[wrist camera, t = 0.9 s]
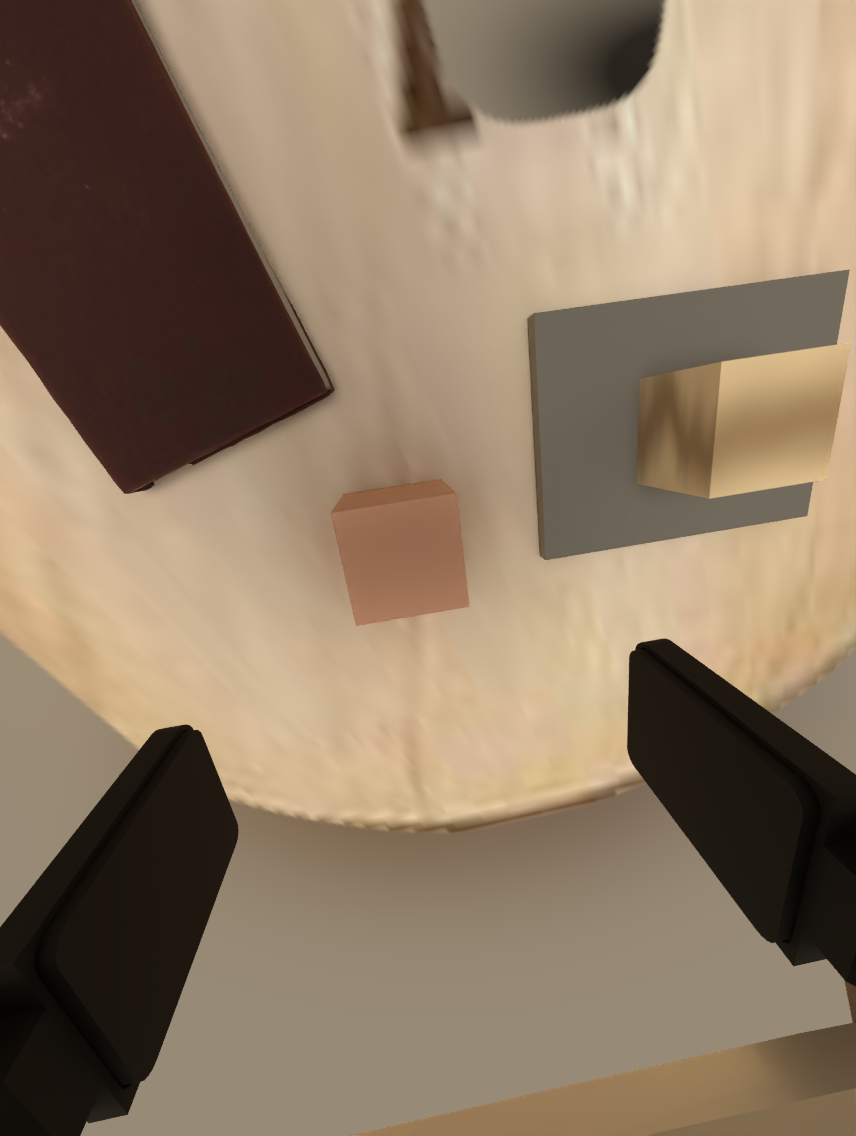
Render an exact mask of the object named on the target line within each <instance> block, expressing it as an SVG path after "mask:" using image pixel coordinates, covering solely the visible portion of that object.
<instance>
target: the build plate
mask: <svg viewBox="0 0 856 1136" xmlns="http://www.w3.org/2000/svg"><path fill="white" fill-rule="evenodd" d="M848 276H849V270H843V271H836V272H829V273H822V274H815V275H807V276H800V277H793V278H786V279H779V280H771V281H764V282H757V283H750V284H743V285H735V286H728V287H721V288H714V289H707V290H699V291H692V292H685V293H678V294H671V295H663V296H656V297H649V298H642V299H635V300H627V301H620V302H613V303H606V304H598V305H591V306H584V307H577V308H570V309H562V310H555V311H548V312H541V313H534V314H533V315H531V316H530V317H529V318H528V332H529V351H530V370H531V389H532V409H533V428H534V447H535V466H536V485H537V505H538V524H539V543H540V556H541V557H543V558H544V559H545V560H549V559H555V558H561V557H567V556H572V555H578V554H584V553H590V552H596V551H602V550H608V549H614V548H620V547H626V546H632V545H638V544H644V543H650V542H655V541H661V540H667V539H673V538H679V537H685V536H691V535H697V534H703V533H709V532H715V531H721V530H727V529H733V528H739V527H744V526H750V525H756V524H762V523H768V522H774V521H780V520H786V519H792V518H798V517H804V516H807V514H808V508H809V502H810V496H811V490H812V485H813V482H808V483H802V484H796V485H790V486H784V487H778V488H772V489H766V490H760V491H753V492H747V493H741V494H735V495H729V496H723V497H717V498H711V499H708V498H703V497H698V496H693V495H689V494H684V493H679V492H674V491H669V490H664V489H659V488H655V487H650V486H645V485H640V484H637V449H638V415H639V381H640V379H642V378H646V377H651V376H656V375H661V374H665V373H670V372H675V371H680V370H684V369H689V368H694V367H699V366H703V365H708V364H713V363H718V362H723V361H729V360H736V359H743V358H750V357H756V356H763V355H770V354H777V353H783V352H790V351H797V350H804V349H811V348H817V347H824V346H831V345H837V340H838V334H839V328H840V322H841V316H842V311H843V305H844V299H845V293H846V287H847V282H848Z"/></svg>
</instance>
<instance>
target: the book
mask: <svg viewBox="0 0 856 1136" xmlns="http://www.w3.org/2000/svg"><path fill="white" fill-rule="evenodd" d="M0 325H1V327H2V328H3V329H4V331H5V332H6V333H7V335H8V336H9V338H10V339H11V340H12V342H13V343H14V344H15V345H16V347H17V348H18V349H19V351H20V352H21V353H22V354H23V356H24V357H25V358H26V360H27V361H28V362H29V364H30V365H31V367H32V368H33V369H34V371H35V372H36V374H37V375H38V377H39V378H40V379H41V381H42V383H43V384H44V386H45V387H46V389H47V390H48V392H49V393H50V395H51V396H52V398H53V399H54V401H55V402H56V403H57V404H58V406H59V407H60V408H61V410H62V411H63V412H64V413H65V415H66V416H67V417H68V419H69V420H70V421H71V423H72V424H73V426H74V427H75V429H76V430H77V431H78V433H79V434H80V436H81V437H82V439H83V440H84V441H85V443H86V444H87V445H88V447H89V448H90V449H91V451H92V452H93V453H94V455H95V456H96V457H97V459H98V460H99V461H100V462H101V464H102V465H103V466H104V468H105V469H106V471H107V472H108V474H109V475H110V476H111V478H112V479H113V481H114V482H115V483H116V484H117V486H118V487H119V488H120V489H121V490H122V491H123V493H124V494H130V493H134V492H139V491H145V490H148V489H150V488H152V486H153V485H155V484H154V483H153V481H155V480H157V479H159V478H161V477H162V476H164V475H166V474H168V473H170V472H172V471H174V470H176V469H178V468H180V467H182V466H184V465H186V464H192V465H195V464H196V463H198V462H200V461H202V460H204V459H206V458H208V457H210V456H212V455H214V454H215V453H217V452H219V451H221V450H223V449H225V448H228V447H230V446H233V445H235V444H237V443H238V442H240V441H242V440H243V439H245V438H248V437H250V436H252V435H254V434H257V433H259V432H260V431H262V430H264V429H265V428H267V427H269V426H270V425H272V424H274V423H276V422H279V421H281V420H283V419H285V418H288V417H290V416H292V415H294V414H296V413H298V412H299V411H301V410H303V409H305V408H307V407H309V406H311V405H312V404H314V403H316V402H318V401H320V400H322V399H324V398H325V397H327V396H328V395H330V394H331V393H332V392H333V391H334V388H333V386H332V383H331V381H330V379H329V377H328V374H327V372H326V370H325V368H324V366H323V364H322V362H321V360H320V358H319V357H318V355H317V353H316V351H315V349H314V347H313V345H312V344H311V342H310V340H309V338H308V336H307V334H306V332H305V330H304V328H303V326H302V324H301V322H300V320H299V318H298V316H297V314H296V312H295V310H294V308H293V306H292V304H291V303H290V301H289V299H288V298H287V296H286V294H285V292H284V290H283V288H282V286H281V284H280V282H279V280H278V278H277V277H276V275H275V273H274V271H273V269H272V267H271V266H270V264H269V262H268V260H267V258H266V256H265V254H264V252H263V251H262V249H261V247H260V245H259V243H258V241H257V239H256V237H255V235H254V233H253V231H252V229H251V227H250V225H249V223H248V222H247V220H246V218H245V216H244V214H243V212H242V210H241V208H240V206H239V204H238V202H237V200H236V198H235V197H234V195H233V193H232V191H231V189H230V187H229V185H228V183H227V181H226V179H225V177H224V175H223V173H222V171H221V169H220V167H219V165H218V163H217V161H216V159H215V158H214V156H213V154H212V152H211V150H210V148H209V146H208V145H207V143H206V141H205V139H204V137H203V135H202V133H201V131H200V129H199V127H198V125H197V123H196V121H195V119H194V117H193V115H192V113H191V111H190V109H189V107H188V105H187V103H186V101H185V99H184V97H183V95H182V93H181V91H180V89H179V87H178V85H177V83H176V81H175V79H174V78H173V76H172V74H171V72H170V70H169V68H168V66H167V64H166V62H165V60H164V58H163V56H162V54H161V52H160V50H159V48H158V46H157V44H156V42H155V40H154V38H153V36H152V34H151V32H150V30H149V28H148V26H147V24H146V22H145V20H144V18H143V16H142V14H141V12H140V9H139V7H138V5H137V3H136V1H135V0H0Z"/></svg>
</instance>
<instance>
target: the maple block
mask: <svg viewBox="0 0 856 1136" xmlns="http://www.w3.org/2000/svg"><path fill="white" fill-rule="evenodd" d="M850 346H851V343H844V344H838V345H831V346H824V347H817V348H811V349H804V350H797V351H790V352H783V353H777V354H770V355H763V356H756V357H750V358H743V359H736V360H729V361H723V362H718V363H713V364H708V365H703V366H699V367H694V368H689V369H684V370H680V371H675V372H670V373H665V374H661V375H656V376H651V377H646V378H642V379H640V381H639V415H638V449H637V484H640V485H645V486H650V487H655V488H659V489H664V490H669V491H674V492H679V493H684V494H689V495H693V496H698V497H703V498H708V499H711V498H717V497H723V496H729V495H735V494H741V493H747V492H753V491H760V490H766V489H772V488H778V487H784V486H790V485H796V484H802V483H808V482H814V481H820V480H826V478H827V472H828V467H829V461H830V456H831V450H832V445H833V439H834V434H835V428H836V423H837V417H838V412H839V406H840V401H841V395H842V390H843V384H844V379H845V373H846V368H847V363H848V357H849V352H850Z"/></svg>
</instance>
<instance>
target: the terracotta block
mask: <svg viewBox="0 0 856 1136" xmlns="http://www.w3.org/2000/svg"><path fill="white" fill-rule="evenodd" d="M331 515H332V520H333V524H334V529H335V533H336V538H337V542H338V547H339V551H340V556H341V560H342V564H343V569H344V573H345V578H346V582H347V587H348V591H349V596H350V600H351V605H352V609H353V614H354V618H355V623H356V626H358V625H364V624H370V623H376V622H382V621H387V620H393V619H399V618H405V617H411V616H417V615H422V614H428V613H434V612H440V611H446V610H452V609H458V608H463V607H469V599H468V591H467V582H466V574H465V565H464V557H463V548H462V540H461V531H460V523H459V514H458V506H457V497H456V493H455V492H454V491H453V490H452V489H451V488H450V487H448V486H447V485H446V484H445V483H444V482H443V481H442V480H441V479H440V480H433V481H427V482H421V483H414V484H408V485H401V486H395V487H389V488H382V489H376V490H369V491H363V492H357V493H350V494H344V495H343V496H342V498H341V499H340V501H339V502H338V504H337V505H336V506H335V508H334V509H333V511H332V512H331Z"/></svg>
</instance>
